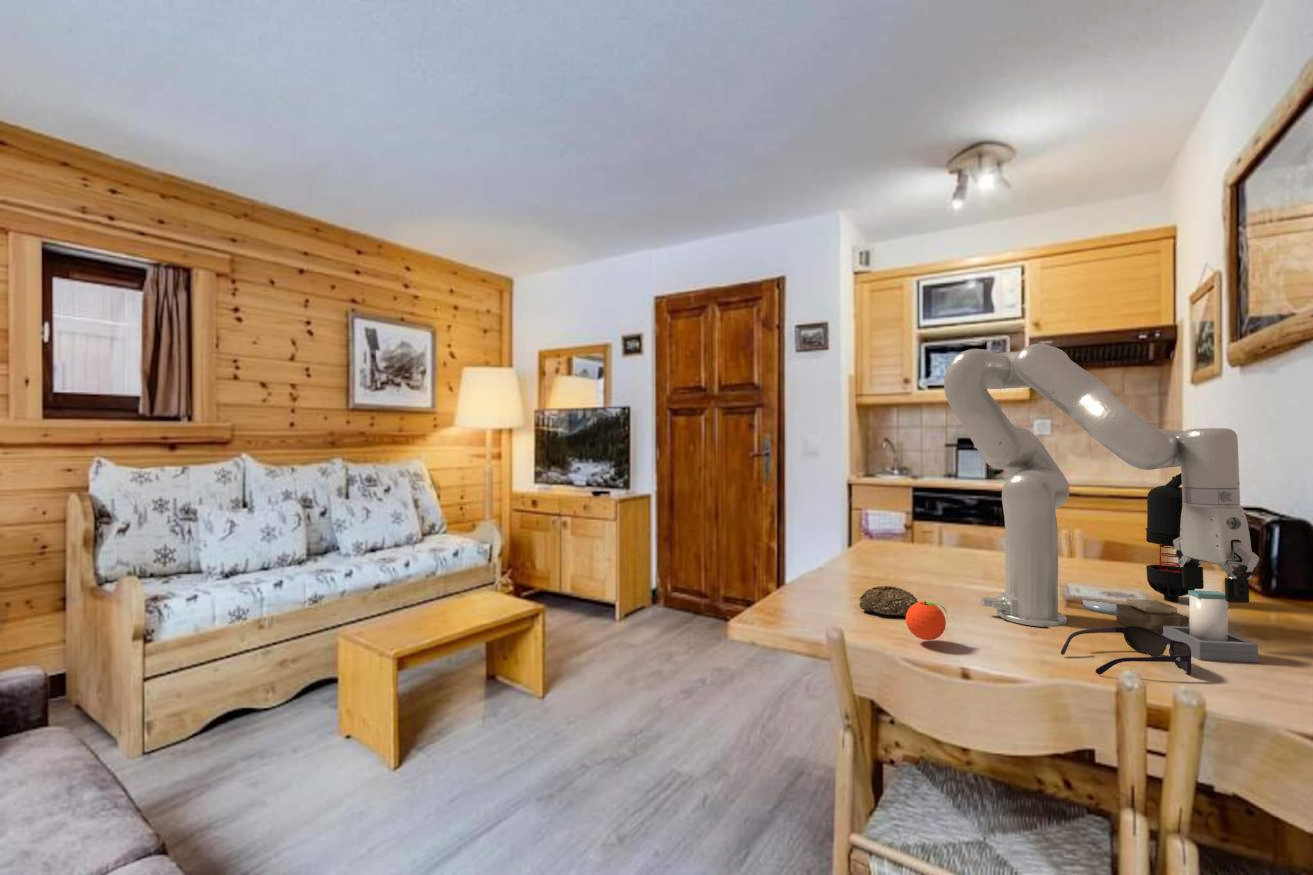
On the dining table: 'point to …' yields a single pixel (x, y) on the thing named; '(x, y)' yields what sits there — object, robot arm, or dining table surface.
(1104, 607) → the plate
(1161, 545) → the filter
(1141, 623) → the button housing
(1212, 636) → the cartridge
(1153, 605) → the button
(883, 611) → the dark brown domed lump
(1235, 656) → the socket
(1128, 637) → the sunglasses
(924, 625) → the clementine
